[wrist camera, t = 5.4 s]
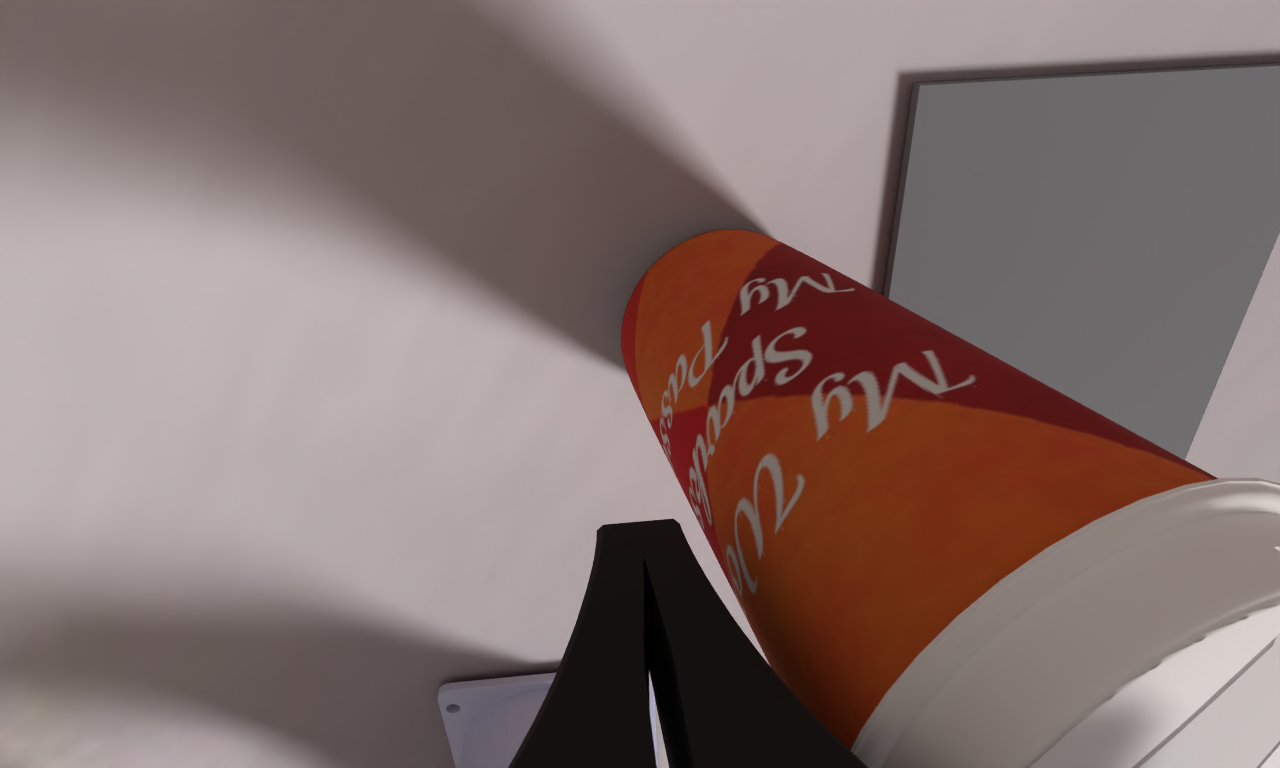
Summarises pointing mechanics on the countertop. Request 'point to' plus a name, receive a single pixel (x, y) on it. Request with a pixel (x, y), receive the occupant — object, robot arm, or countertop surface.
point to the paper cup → (953, 530)
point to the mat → (1094, 228)
